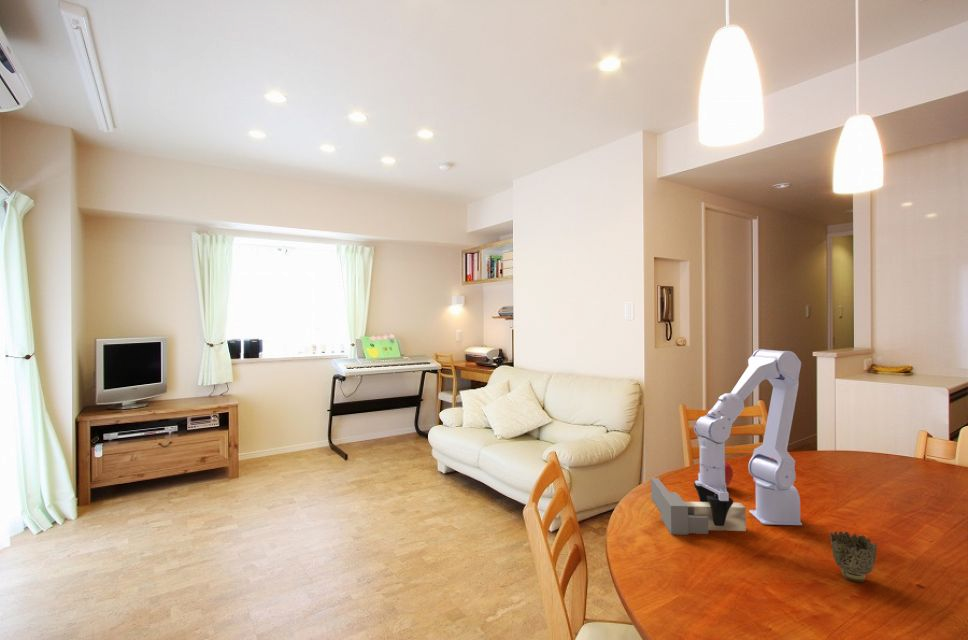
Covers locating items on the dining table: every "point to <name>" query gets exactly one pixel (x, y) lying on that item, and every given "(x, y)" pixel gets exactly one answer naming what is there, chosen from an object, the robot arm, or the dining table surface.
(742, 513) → the birch rail
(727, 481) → the apple
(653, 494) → the grey stepped block
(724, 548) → the dining table surface
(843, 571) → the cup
